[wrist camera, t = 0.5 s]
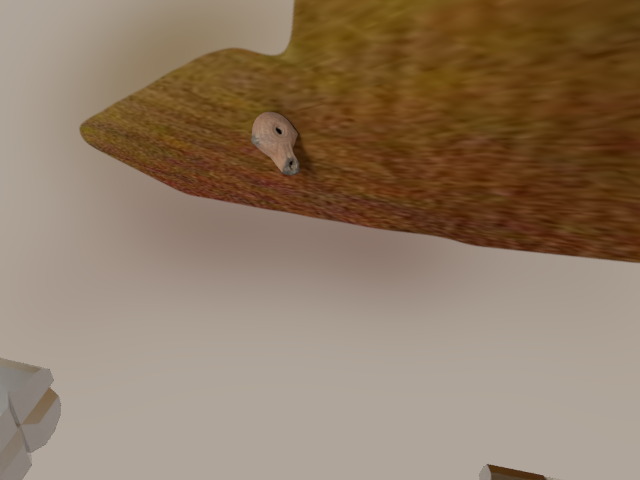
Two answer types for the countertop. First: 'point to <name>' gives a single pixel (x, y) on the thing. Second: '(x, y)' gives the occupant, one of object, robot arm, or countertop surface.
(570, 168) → the countertop surface
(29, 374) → the robot arm
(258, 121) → the oil lamp
